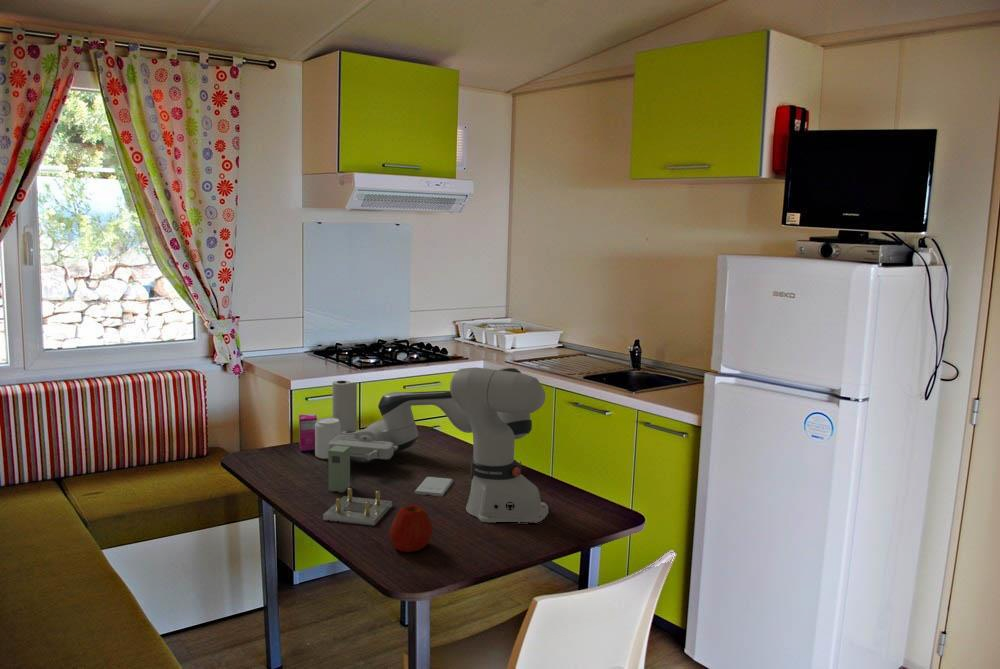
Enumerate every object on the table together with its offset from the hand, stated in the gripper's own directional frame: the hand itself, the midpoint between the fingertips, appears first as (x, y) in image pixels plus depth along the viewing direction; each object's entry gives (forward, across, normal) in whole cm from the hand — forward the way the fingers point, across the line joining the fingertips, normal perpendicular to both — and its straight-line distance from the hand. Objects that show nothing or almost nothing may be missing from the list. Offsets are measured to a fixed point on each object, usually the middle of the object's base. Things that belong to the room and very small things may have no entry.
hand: (352, 456), depth 245 cm
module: (+11, 0, -6) cm, 12 cm away
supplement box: (-21, +24, -7) cm, 33 cm away
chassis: (+27, -12, -6) cm, 30 cm away
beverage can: (-16, +15, -7) cm, 23 cm away
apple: (+44, -32, -7) cm, 55 cm away
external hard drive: (+2, -26, -7) cm, 27 cm away
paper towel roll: (-31, +16, -7) cm, 36 cm away
